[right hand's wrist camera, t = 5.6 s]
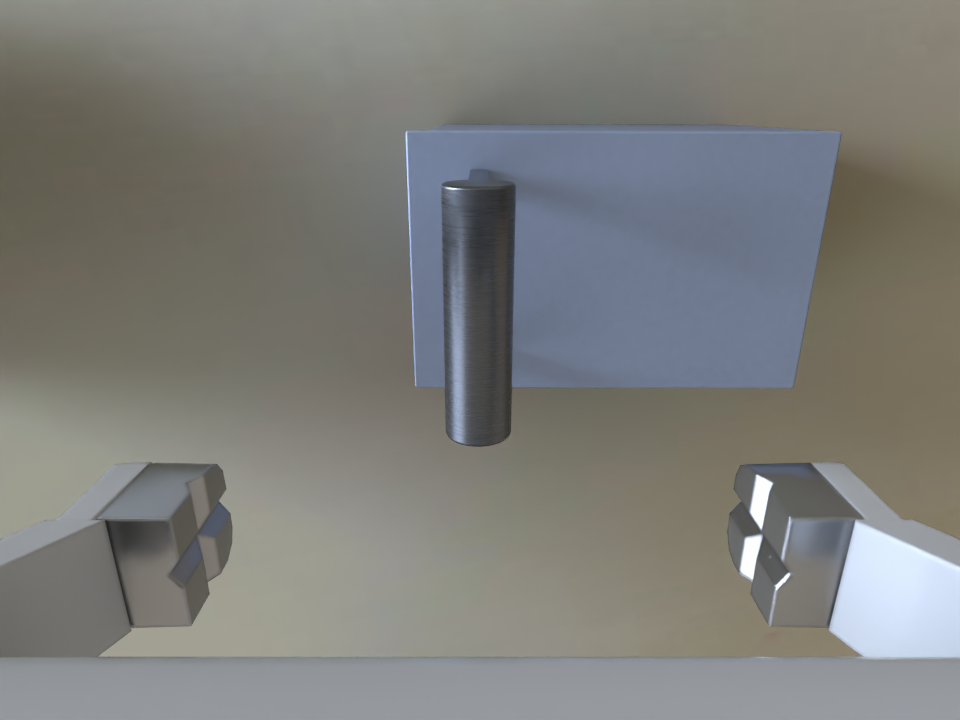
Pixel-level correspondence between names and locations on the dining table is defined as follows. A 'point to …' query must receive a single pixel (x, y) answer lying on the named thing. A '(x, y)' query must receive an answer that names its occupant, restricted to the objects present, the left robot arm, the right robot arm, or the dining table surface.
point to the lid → (609, 261)
